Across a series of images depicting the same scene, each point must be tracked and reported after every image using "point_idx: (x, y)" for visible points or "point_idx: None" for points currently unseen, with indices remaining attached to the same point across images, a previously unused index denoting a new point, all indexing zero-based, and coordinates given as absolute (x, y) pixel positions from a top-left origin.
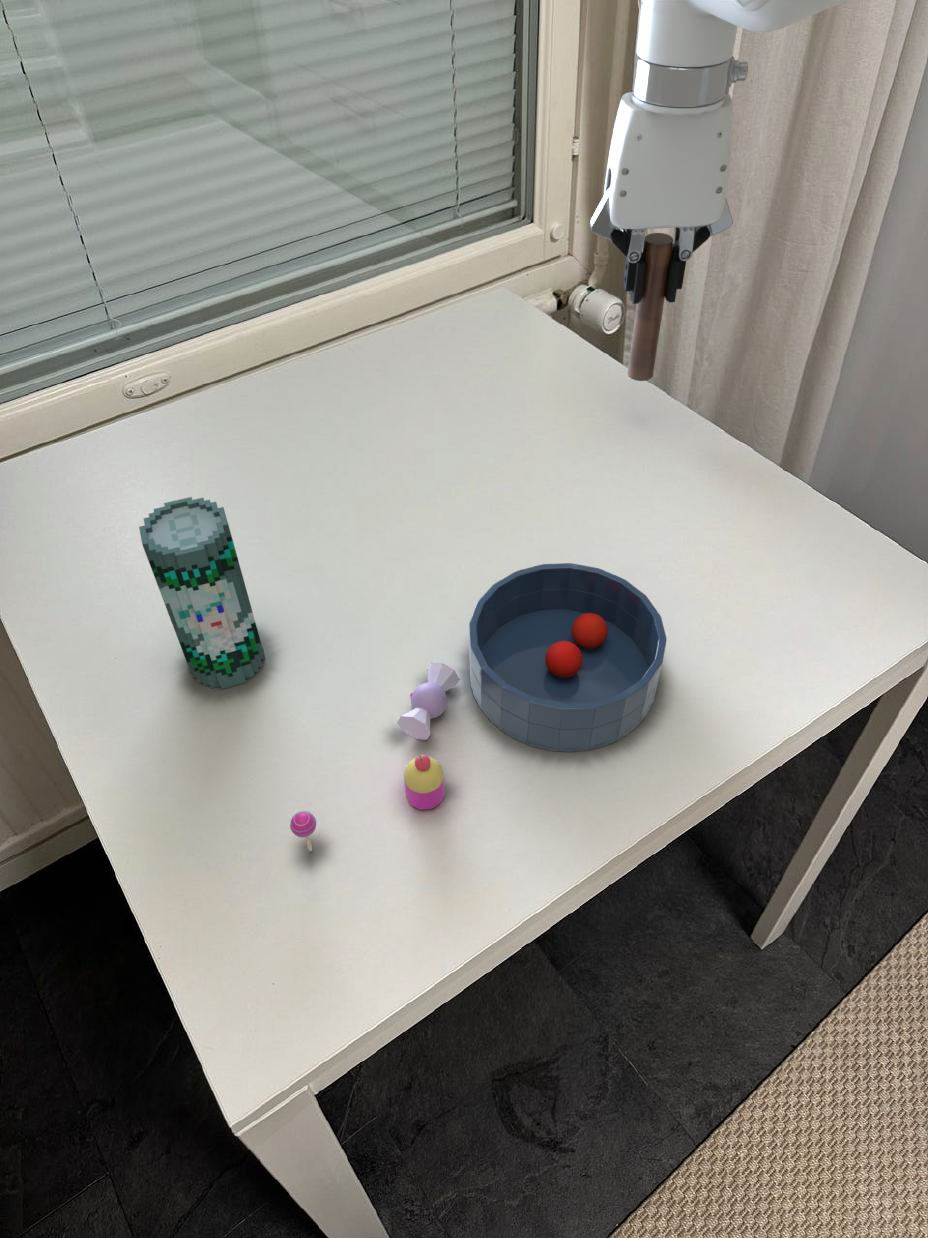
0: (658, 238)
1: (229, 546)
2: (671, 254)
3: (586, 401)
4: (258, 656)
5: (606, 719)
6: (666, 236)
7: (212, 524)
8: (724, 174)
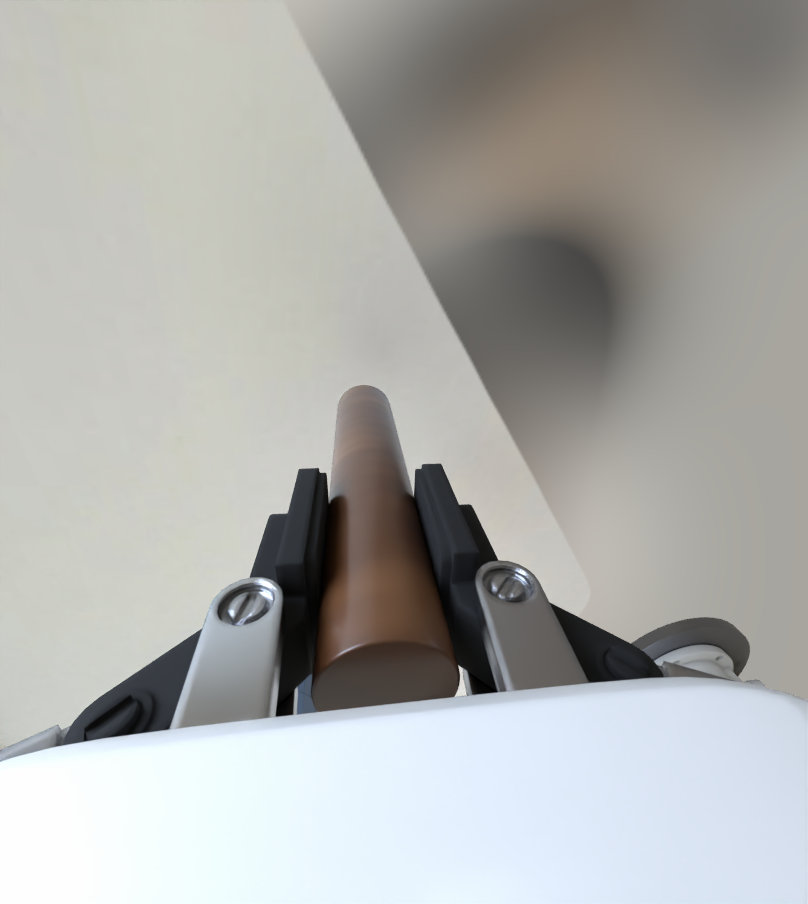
0: (385, 691)
1: None
2: (448, 603)
3: (283, 274)
4: None
5: None
6: (432, 670)
7: None
8: None
